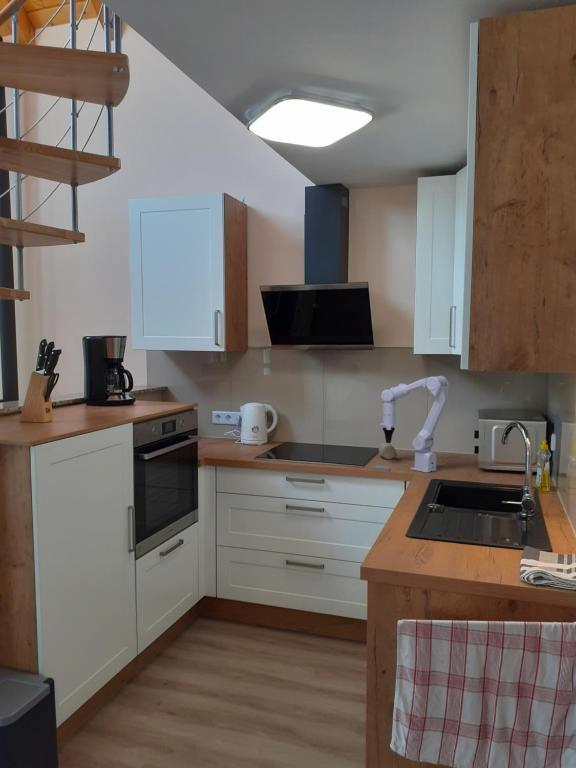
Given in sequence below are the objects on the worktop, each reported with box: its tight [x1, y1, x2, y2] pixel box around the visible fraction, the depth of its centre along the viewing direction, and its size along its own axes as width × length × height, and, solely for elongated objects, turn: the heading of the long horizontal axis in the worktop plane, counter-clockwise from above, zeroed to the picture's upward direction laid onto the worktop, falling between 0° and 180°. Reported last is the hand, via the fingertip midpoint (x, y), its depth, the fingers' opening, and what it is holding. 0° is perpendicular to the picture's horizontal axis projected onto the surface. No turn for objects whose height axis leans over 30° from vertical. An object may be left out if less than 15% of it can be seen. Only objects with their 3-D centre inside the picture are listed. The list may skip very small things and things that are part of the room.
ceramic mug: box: [378, 441, 402, 460], centre depth 304 cm, size 11×8×8 cm
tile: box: [374, 464, 390, 473], centre depth 276 cm, size 2×6×6 cm
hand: (388, 442), depth 289 cm, fingers closed
